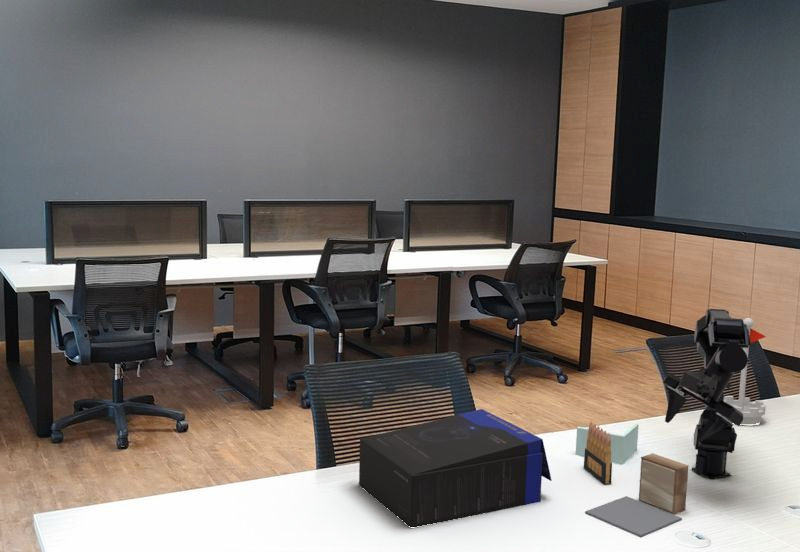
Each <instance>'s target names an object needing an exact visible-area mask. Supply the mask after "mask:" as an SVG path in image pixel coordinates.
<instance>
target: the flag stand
mask: <svg viewBox="0 0 800 552" xmlns="http://www.w3.org/2000/svg"><path fill="white" fill-rule="evenodd" d="M742 320H743V321H744V324H746V325H747V328H748V330H749V335H750V341H751V342H750V344H752V343H754V342H756V341H759V340H762V339H765V338H766V337H767V336H766V335H764V334H763V333H760V332H759V331H756V330H755V329H753V328H752V327H753V326H754V320H753V319H752V318H750V317H746V318H744V319H742ZM749 348H750V345H748V348H742V349H743V350H744V351H745V353H746V354H747V357H748V358H749V350H750V349H749ZM747 372H748V362H747V365H746V367H745V368H744V369H743V370H741V371H740V380H739V390H738V391H739V393H738V399H734V396H733V395H723V396H724V402H725V403H727V404H729V405H731V406H733V407H735V408H736V409H737V410H739V411H740V412H741V413H742V414H743V421H742V423H741V424H756V423H759V422H760V423H761V419H762V417H763V416H764V415H766V409H767V407H766V404H764V402H763V401H761V400H759V399H757V400H756V399H755V401H754V402H752V401H751V397H747V396H746V385H747Z"/></svg>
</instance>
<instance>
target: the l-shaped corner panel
mask: <svg viewBox="0 0 800 552" xmlns="http://www.w3.org/2000/svg"><path fill="white" fill-rule="evenodd" d="M588 429H589V427H588V428H587V427H583V426H577V427H576V439H575V455H576V456H581V457H584V456H585V448H586V445H587V436H588ZM604 431H605V430H603V433H604ZM606 433H607V435H608V433H609V434H610V437H611V463H612V464H613V463H614V464H618V465H623V464H624V463H626V462H627V460H629V459H630V458H631V457H633V455H634V454H635V453H636V452H637V451H638V440H639V439H638V437H639V436H638V435H639V424H638V423H634V424H633V425H632V426H631V427H630V428H628V429H627V430H626V431H625V432H623V434H618V433H615V432H608V431H606Z"/></svg>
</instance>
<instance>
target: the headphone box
mask: <svg viewBox="0 0 800 552" xmlns="http://www.w3.org/2000/svg"><path fill="white" fill-rule="evenodd" d="M543 440H544V439H543V438H542V437H539V436H538V435H535V434H533V433H531V432H529V431H528V430H525V429H523V428H521V427H519V426H517V425H515V424H513V423H510V421H508V420H505V419H503V418H500V417H499V416H497V415H495V414H493V413H490V412H489V411H487V410H484V409H482V408H481V409H477V410H476V409H475V410H472V411H468V412H465V413H464V412H463V413H459V414H456V415H452V416H451V415H450V416H448V417H445V418H444V417H443V418H440V419H435V420H432V421H427V422H424V423H420V424H416V425H411V426H407V427H402V428H400V429H396V430H395V429H394V430H391V431H387V432H383V433H380V434H375V435H372V436H368V437H366V436H365V437H361V438H359V461H358V462H359V463H358V465H359V466H358V467H359V468H358V469H359V470H358V471H359V474H358V476H359V477H358V486H359V485H360V486H361V487H362V488H364V489H365V490H366V491H367V492H368V493H369V494H368V495H370V494H371V495H372V496H373V497H374V498H376V499H377V500H378V501H379V502H380V503H382V504H383V505H384V506H385V507H386V508H388V509H389V510H390V511H391V512H393V513H394V514H395V515H396V516H398V517H399V518H400V519H401V520H403V522H405V523H406V524H407V525H408V526H410V527H417V526H422V525H427V524H432V525H434V524H433V523H436V524H438V523H437V522H441V523H444V522H443V521H446V522H449V521H448V520H451V521H454V520H453V519H456V520H459V519H458V518H461V519H464V518H465V519H466V518H470V517H474V515H475V516H478V515H479V514H480V515H484V514H483V513H485V514H489V513H494V512H498V511H503V510H504V511H505V510H508V509H512V508H513V509H514V508H517V507H522V506H528V505H532V504H537V503H540V502H541V499H542V498H541V497H542V496H541V495H542V477H543V478H544V479H547V480H549V481H550V482H552V477H551V472H550V468H549V463H548V458H547V453H546V449H545V444H544V441H543ZM360 486H359V487H360ZM361 487H360V488H361ZM362 488H361V489H362ZM364 489H363V490H364ZM365 490H364V491H365ZM366 491H365V492H366ZM367 492H366V493H367ZM371 495H370V496H371ZM372 496H371V497H372ZM373 497H372V498H373ZM374 498H373V499H374ZM376 499H375V500H376ZM377 500H376V501H377ZM378 501H377V502H378ZM379 502H378V503H379ZM380 503H379V504H380ZM382 504H381V505H382ZM383 505H382V506H383ZM384 506H383V507H384ZM385 507H384V508H385ZM386 508H385V509H386ZM388 509H387V510H388ZM389 510H388V511H389ZM390 511H389V512H390ZM391 512H390V513H391ZM394 514H393V515H394ZM395 515H394V516H395ZM480 515H479V516H480ZM396 516H395V517H396ZM469 516H470V517H469ZM400 519H399V520H400ZM401 520H400V521H401ZM403 522H402V523H403ZM406 524H405V525H406ZM407 525H406V526H407ZM408 526H407V527H408ZM427 526H428V525H427ZM422 527H423V526H422ZM417 528H418V527H417Z"/></svg>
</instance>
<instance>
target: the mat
mask: <svg viewBox="0 0 800 552" xmlns="http://www.w3.org/2000/svg"><path fill="white" fill-rule="evenodd" d="M584 513H585V514H586V515H588V516H591V517H593V518H595V519H598V520H600V521H603V522H604V523H607V524H610V525H611V526H614V527H616V528H618V529H621V530H623V531H625V532H628V533H631V535H635V536H637V537H640V538H642V537H644V536H646V535H649V534H652V533H654V532H657V531H659V530H661V529H663V528H666V527H668V526H671V525H673V524H675V523H677V522H680V521H682V520H683V517H680V516H678V515H677V514H675V515H674V514H671V513H669V512H666V511H664V510H661V509H659V508H656V507H654V506H651V505H648V504H646V503H643V502H641V501H639V499H638V500H637V499H634V498H633V497H630V496H627V495H626V496H622V497H621V498H617V499H614V500H612V501H609V502H606V503H604V504H601V505H599V506H596V507H593V508H590V509H587V510H585V512H584Z"/></svg>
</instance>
